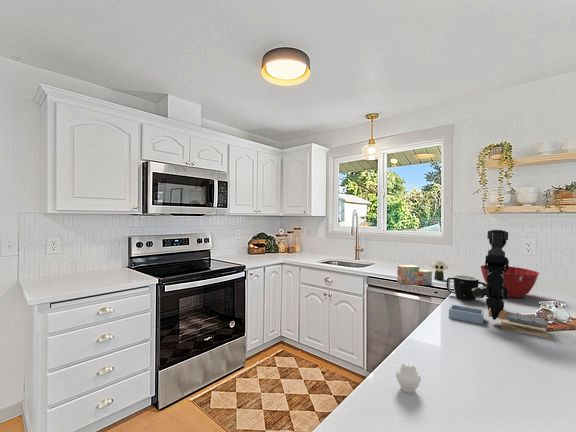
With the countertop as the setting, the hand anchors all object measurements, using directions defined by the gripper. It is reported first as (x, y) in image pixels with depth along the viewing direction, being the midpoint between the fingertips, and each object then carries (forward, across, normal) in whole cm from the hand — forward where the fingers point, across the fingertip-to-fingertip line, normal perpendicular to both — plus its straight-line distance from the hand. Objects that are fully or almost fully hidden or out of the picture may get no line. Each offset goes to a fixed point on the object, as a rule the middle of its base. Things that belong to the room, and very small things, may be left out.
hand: (494, 318), depth 130 cm
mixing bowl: (+2, -65, +7) cm, 65 cm away
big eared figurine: (+2, -85, -33) cm, 91 cm away
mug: (+2, -38, -14) cm, 40 cm away
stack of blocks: (+3, -57, -45) cm, 72 cm away
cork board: (+2, 0, +10) cm, 10 cm away
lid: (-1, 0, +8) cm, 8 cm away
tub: (+2, 0, -10) cm, 11 cm away
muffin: (+2, +75, -18) cm, 77 cm away
